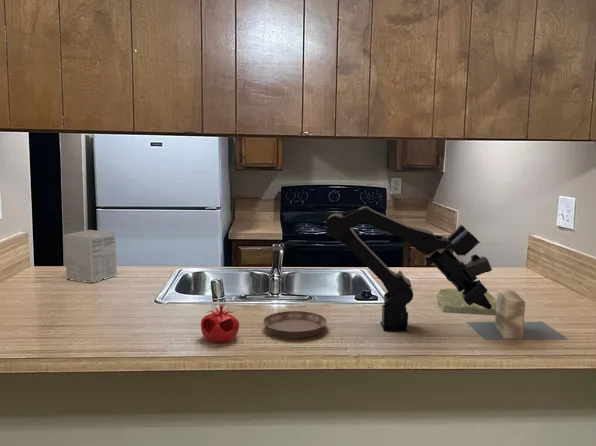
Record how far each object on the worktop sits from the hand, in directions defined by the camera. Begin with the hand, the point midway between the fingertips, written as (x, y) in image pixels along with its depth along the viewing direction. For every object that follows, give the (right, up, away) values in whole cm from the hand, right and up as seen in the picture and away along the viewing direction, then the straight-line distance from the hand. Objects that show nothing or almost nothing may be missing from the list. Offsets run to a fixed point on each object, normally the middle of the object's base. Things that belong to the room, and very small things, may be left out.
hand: (490, 307), depth 142 cm
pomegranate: (-73, -8, -5) cm, 74 cm away
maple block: (+5, -7, 0) cm, 8 cm away
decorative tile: (+1, -4, +26) cm, 26 cm away
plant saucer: (-54, -7, +3) cm, 54 cm away
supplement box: (-132, +2, +56) cm, 143 cm away
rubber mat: (+8, -7, +2) cm, 10 cm away
